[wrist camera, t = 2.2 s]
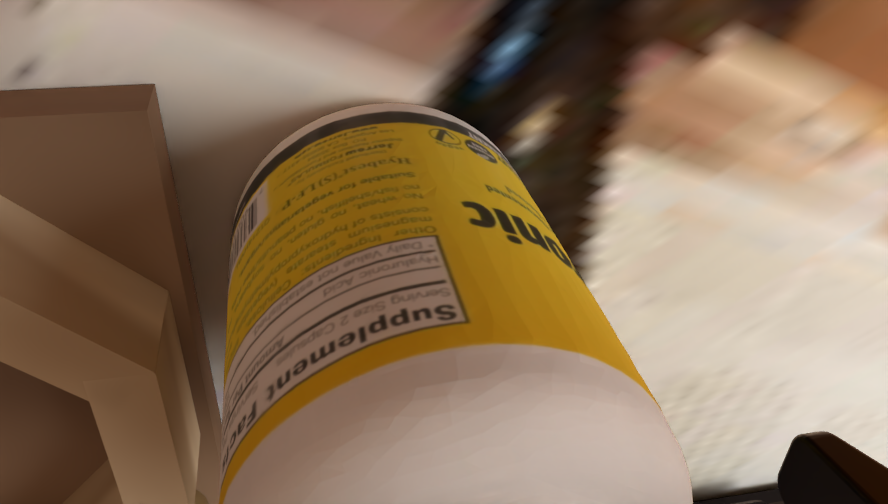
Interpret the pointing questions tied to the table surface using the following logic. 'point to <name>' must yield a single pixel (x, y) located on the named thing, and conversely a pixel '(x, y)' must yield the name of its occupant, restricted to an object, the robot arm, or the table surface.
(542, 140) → the table surface
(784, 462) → the robot arm
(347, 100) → the table surface
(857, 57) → the table surface
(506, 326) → the supplement bottle
